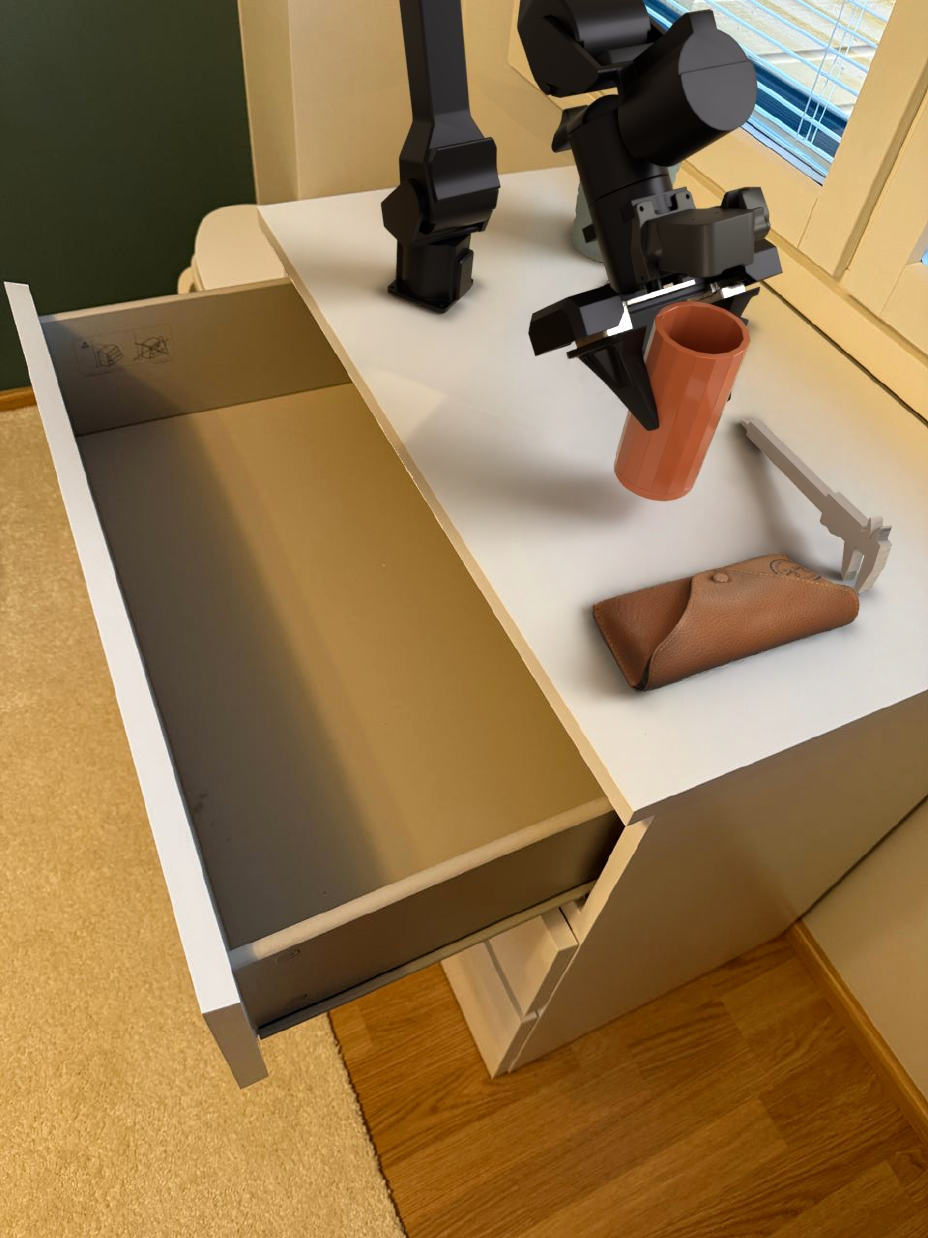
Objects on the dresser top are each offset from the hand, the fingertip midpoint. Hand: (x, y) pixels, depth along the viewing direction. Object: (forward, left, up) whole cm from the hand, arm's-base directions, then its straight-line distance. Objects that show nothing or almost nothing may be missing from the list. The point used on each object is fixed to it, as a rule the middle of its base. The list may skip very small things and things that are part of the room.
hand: (689, 415), depth 66 cm
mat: (-8, +25, -10) cm, 28 cm away
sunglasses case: (+8, -8, -10) cm, 15 cm away
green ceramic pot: (-18, +37, -10) cm, 42 cm away
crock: (-1, +1, -7) cm, 7 cm away
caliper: (+10, +8, -10) cm, 16 cm away
